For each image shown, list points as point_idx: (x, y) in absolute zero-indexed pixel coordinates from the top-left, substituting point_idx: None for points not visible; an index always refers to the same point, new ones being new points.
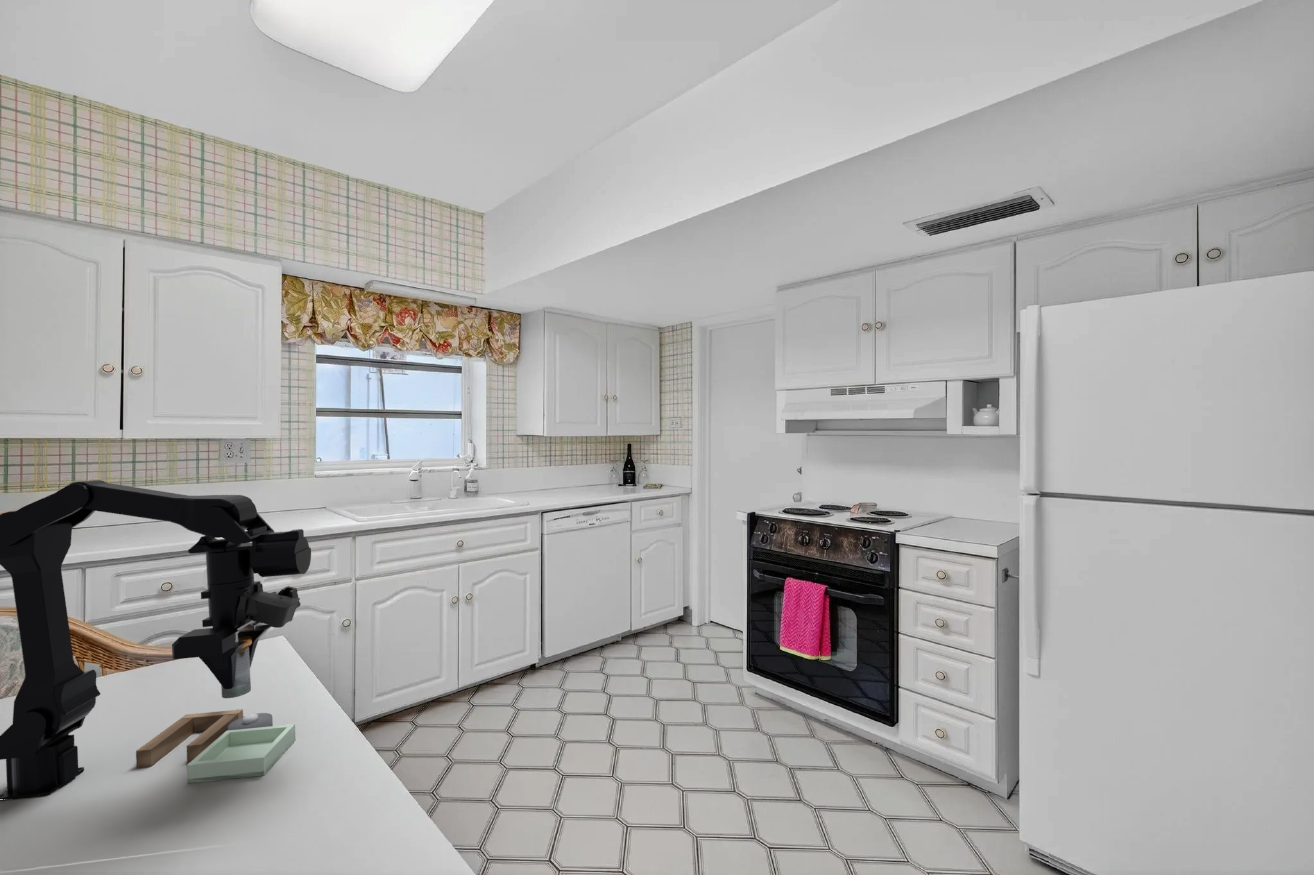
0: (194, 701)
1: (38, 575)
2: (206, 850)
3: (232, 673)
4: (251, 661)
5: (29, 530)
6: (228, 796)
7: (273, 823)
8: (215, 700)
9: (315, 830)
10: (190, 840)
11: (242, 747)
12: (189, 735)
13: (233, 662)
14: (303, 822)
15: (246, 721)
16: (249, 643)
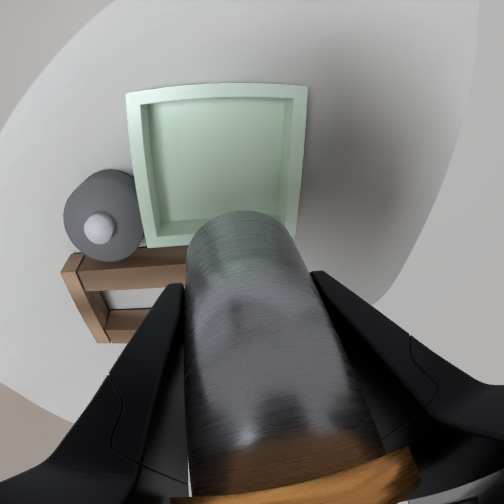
0: (43, 349)
1: None
2: (450, 111)
3: (379, 315)
4: (142, 336)
5: None
6: (345, 126)
7: (426, 44)
8: (31, 330)
9: (442, 2)
10: (430, 137)
11: (172, 189)
12: (118, 310)
13: (426, 361)
14: (429, 11)
15: (112, 228)
16: (338, 494)
